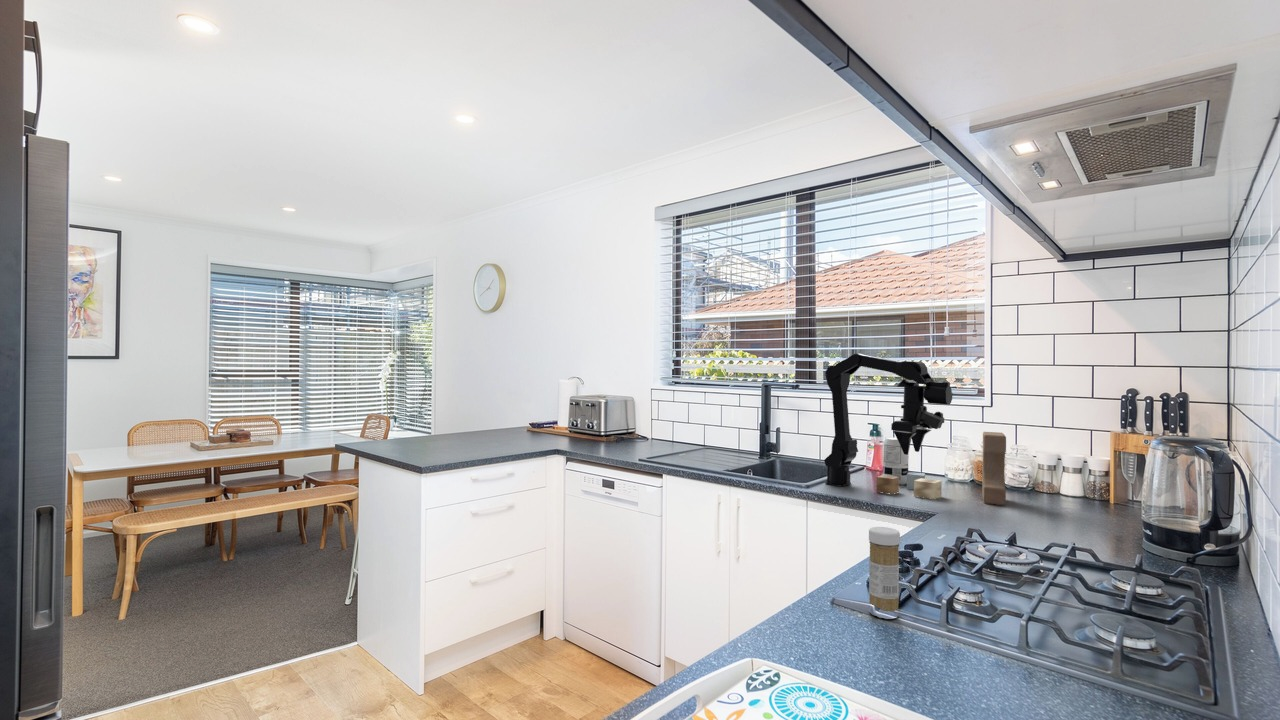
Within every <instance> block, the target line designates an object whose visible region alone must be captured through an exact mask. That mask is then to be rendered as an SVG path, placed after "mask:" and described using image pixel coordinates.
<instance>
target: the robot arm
mask: <svg viewBox="0 0 1280 720" xmlns="http://www.w3.org/2000/svg"><path fill="white" fill-rule="evenodd" d="M861 367H863V368H868V369H873V370H876V371H877V370H879V371H883V372H888V373H892V374H895V375H897V376H898V377H900V378H903V379H902V380H901V381H900V382H898V383H897V384H896V386H897V387H898V388H900V387H901V388H903V404H901V405H900V408H901V409H903V410H902V417H901V418H900V420H895V421H894V420H893V422H892V423H891V427H890V428H891V431H892V432H893V433H894V435H895V438H897V439H898V441H899V444H900V446H901V448H902V450H903V453H904V454H906V455H908V456H909V452H910V449H911V448H910V447H911V442H912V446H913V449H914V452H917V453H919V452H920V450H921V448H922V444H923V441H924V438H925V436H926V435H927V434H928V433H930V432H931V431H932V429H935V430H938V429H941V428H942V426H943V424H945V417H944V413H943V412H941V411H935V412H934V413H933V412H930V411H928V407H927V405H925V401H927V403H928V404H931V405H947V406H949V405H951V403H952V400H953V392H952V387H951V382H950V381H941V382H940V381H935V380H934V379H933V377H932V376H931V375H930V373H929V372H928V367H927V365H926V363H925V362H923V361H922V362H921V361H906V360H905V361H900V360H897V361H896V360H892V359H886V358H880V357H876V356H871V355H865V354H863V353H853V354H852V355H850V356H849V357H848V358H846V359H844V360H841V361H840V362H837V363H836V364H835V365H830V366H829V367H828V368H827V369H826V370H825V374H824V376H825V379H826V384H827V386H828V388H829V391H831V398H832V410H833V411H832V412H833V424H834V425H833V427H834V437H833V440H832V443H831V453H830V454H829V455H828V456H826V458H824V464H825V467H827V468H826V469H827V472H826V475H827V476H826V481H825V482H824V484H826V485H831V486H839V487H844V486H845V487H846V486H849V485H851V484H852V482H851V470H850V466H851V464H852V462H853V460H854V459H855V458H856V457H857V453H859V450H858V439H853V438H852V436H851V432H850V420H849V408H848V407H849V406H848V394H847V393H848V392H847V391H848V389H849V387H850V386H849V385H850V382H851V380H850V379H851V376H852V375H854V374H855V373H856V372H857V371H858V370H859V369H860V368H861Z"/></svg>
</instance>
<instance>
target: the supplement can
mask: <svg viewBox="0 0 1280 720" xmlns="http://www.w3.org/2000/svg"><path fill="white" fill-rule="evenodd" d="M881 470H882V474H881V475H887V476H895V477H899V485H907V473H908V472H909V454H908V455H906V454H904V453H903V450H902V448H901V446H900V444H899V441H898V439H897V437H894V436H893V437H891V436H889V437H885V438H884V439H883V441H882V469H881Z"/></svg>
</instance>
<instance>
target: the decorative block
mask: <svg viewBox="0 0 1280 720" xmlns="http://www.w3.org/2000/svg"><path fill="white" fill-rule="evenodd" d="M1006 453H1007V436H1006V435H1005V434H1004V433H1003V432H996V431H995V432H993V431H983V432H982V480H981V481H982V485H981V487H982V491H981V492H982V493H981V495H982V501H983V504H986V505H993V504H996V505H997V506H1003V505H1004V506H1006V504H1007V501H1006V499H1007V498H1006V493H1007V492H1006V491H1007V489H1006V480H1005V477H1006V476H1005V461H1006V460H1005V459H1006Z"/></svg>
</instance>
